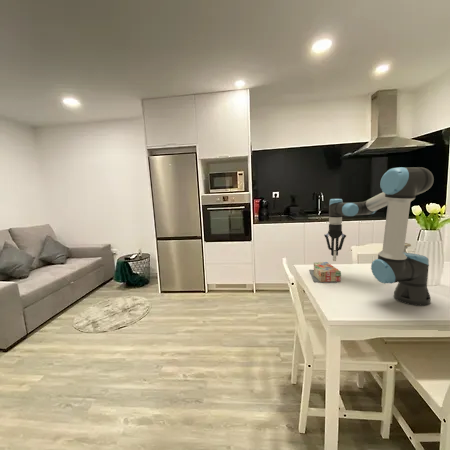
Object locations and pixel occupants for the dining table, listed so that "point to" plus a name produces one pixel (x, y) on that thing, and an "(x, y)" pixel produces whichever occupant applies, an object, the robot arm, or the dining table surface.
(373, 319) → the dining table surface
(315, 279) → the mat
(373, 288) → the dining table surface
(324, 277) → the stack of blocks
